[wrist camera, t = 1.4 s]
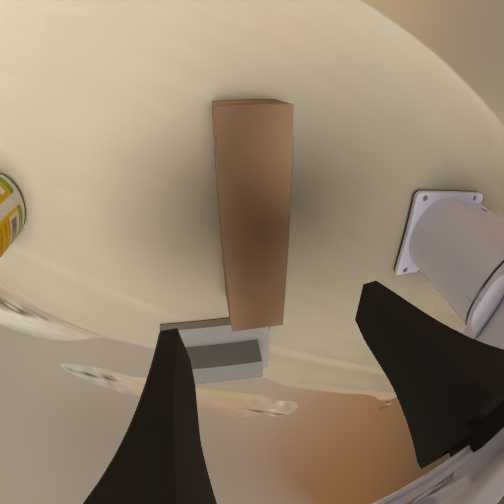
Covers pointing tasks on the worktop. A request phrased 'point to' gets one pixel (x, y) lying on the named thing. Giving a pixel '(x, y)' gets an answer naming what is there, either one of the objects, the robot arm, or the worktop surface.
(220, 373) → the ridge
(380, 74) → the worktop surface
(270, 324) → the beam
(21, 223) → the supplement bottle
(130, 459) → the robot arm
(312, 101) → the worktop surface
